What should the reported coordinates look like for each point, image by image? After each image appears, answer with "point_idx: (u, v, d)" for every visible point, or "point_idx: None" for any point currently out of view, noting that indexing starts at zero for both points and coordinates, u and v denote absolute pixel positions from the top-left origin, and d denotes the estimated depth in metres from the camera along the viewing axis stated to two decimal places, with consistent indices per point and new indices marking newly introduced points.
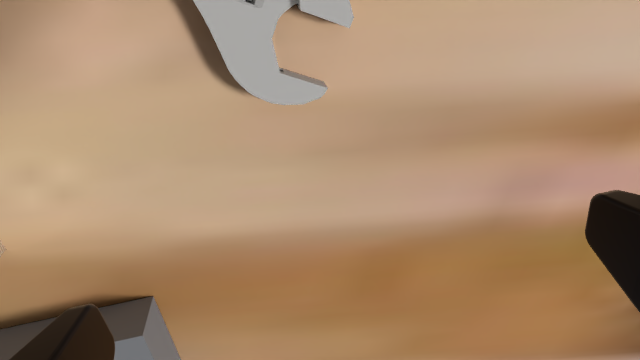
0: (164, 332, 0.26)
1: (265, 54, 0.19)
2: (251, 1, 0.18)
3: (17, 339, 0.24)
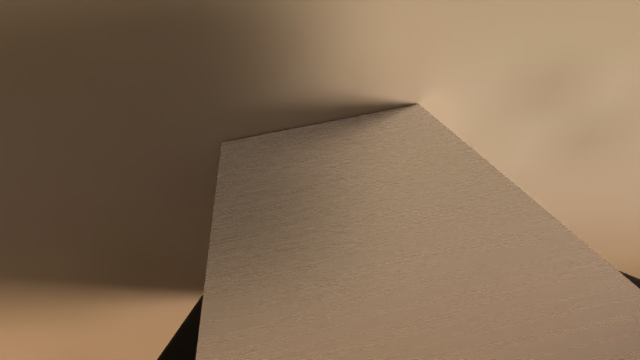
0: None
1: None
2: None
3: None
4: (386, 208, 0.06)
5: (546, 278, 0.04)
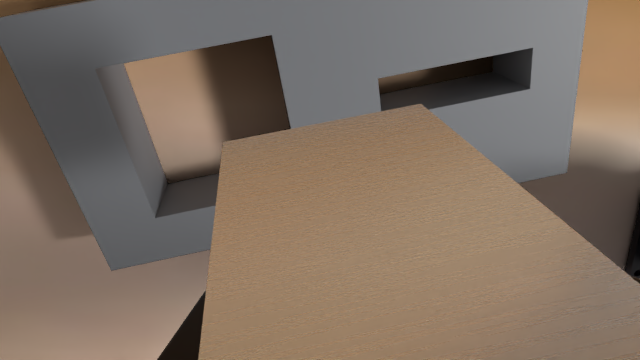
0: None
1: None
2: None
3: None
4: (389, 208, 0.06)
5: (551, 278, 0.04)
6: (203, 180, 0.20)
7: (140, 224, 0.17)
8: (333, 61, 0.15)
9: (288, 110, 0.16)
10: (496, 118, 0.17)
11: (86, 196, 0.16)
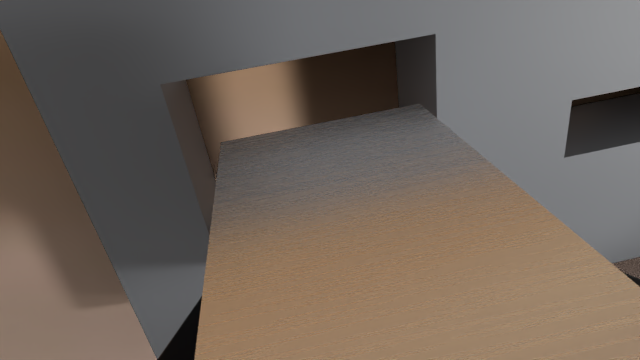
0: None
1: None
2: None
3: None
4: (387, 209, 0.06)
5: (549, 280, 0.04)
6: None
7: None
8: (515, 75, 0.10)
9: None
10: None
11: (133, 271, 0.11)
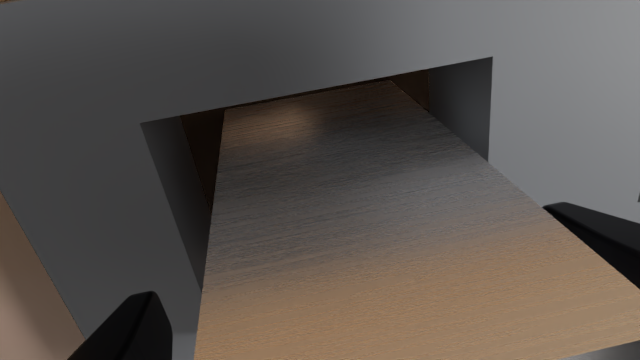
0: None
1: None
2: None
3: None
4: (352, 148, 0.07)
5: (455, 182, 0.06)
6: None
7: None
8: (587, 106, 0.08)
9: None
10: None
11: None
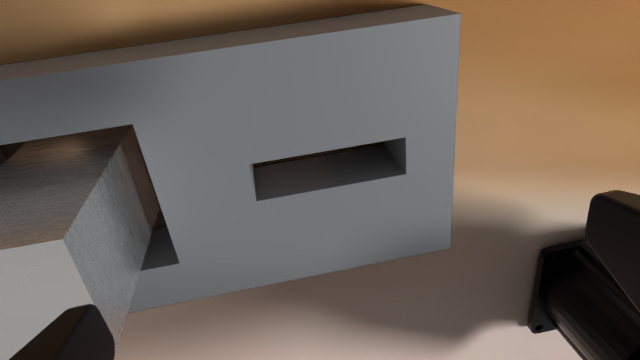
0: None
1: None
2: None
3: (247, 34, 0.16)
4: (57, 169, 0.14)
5: (72, 188, 0.13)
6: None
7: None
8: (200, 149, 0.15)
9: (157, 193, 0.16)
10: (374, 200, 0.18)
11: None
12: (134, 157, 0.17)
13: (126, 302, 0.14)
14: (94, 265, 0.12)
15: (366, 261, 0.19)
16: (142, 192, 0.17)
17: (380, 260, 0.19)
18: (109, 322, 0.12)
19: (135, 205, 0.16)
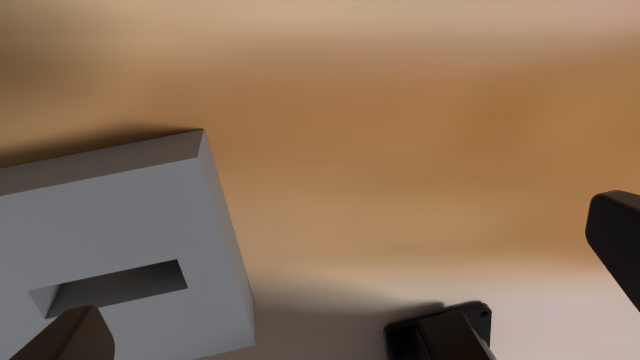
0: (218, 184, 0.19)
1: None
2: None
3: (18, 174, 0.17)
4: None
5: None
6: None
7: None
8: None
9: None
10: (163, 311, 0.19)
11: None
12: None
13: None
14: None
15: None
16: None
17: (187, 359, 0.20)
18: None
19: None
